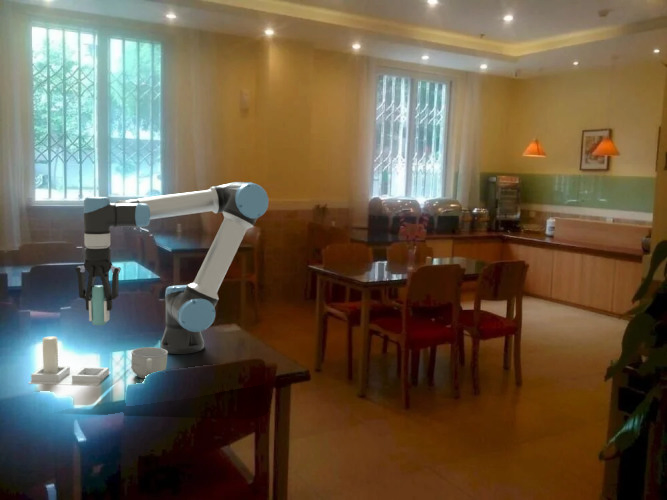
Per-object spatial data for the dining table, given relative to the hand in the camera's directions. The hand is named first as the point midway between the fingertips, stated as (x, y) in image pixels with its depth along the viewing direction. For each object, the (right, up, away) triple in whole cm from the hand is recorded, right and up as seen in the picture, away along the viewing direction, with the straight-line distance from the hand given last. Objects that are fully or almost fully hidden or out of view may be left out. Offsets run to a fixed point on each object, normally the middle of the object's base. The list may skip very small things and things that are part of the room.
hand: (99, 320), depth 193 cm
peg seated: (-12, -16, -8) cm, 21 cm away
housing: (-6, -17, -8) cm, 20 cm away
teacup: (+16, -18, -3) cm, 24 cm away
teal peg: (0, -1, 0) cm, 1 cm away
